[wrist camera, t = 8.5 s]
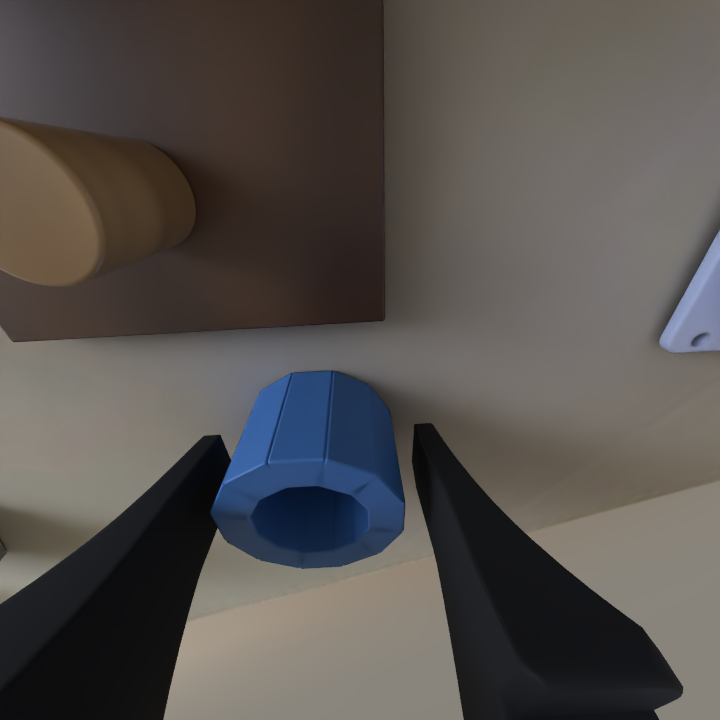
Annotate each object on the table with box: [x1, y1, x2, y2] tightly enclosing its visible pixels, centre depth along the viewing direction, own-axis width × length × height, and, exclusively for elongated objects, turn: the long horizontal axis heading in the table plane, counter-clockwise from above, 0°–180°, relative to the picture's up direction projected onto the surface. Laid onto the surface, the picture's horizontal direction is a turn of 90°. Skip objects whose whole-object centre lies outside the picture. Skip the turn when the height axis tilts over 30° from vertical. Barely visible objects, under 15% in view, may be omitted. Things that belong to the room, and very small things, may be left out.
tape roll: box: [210, 371, 405, 569], centre depth 11 cm, size 6×6×4 cm
